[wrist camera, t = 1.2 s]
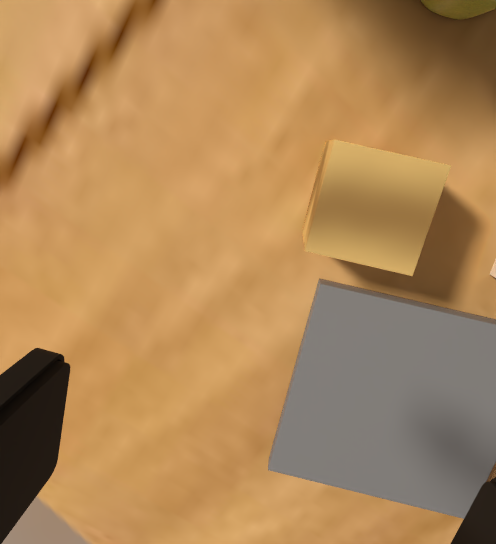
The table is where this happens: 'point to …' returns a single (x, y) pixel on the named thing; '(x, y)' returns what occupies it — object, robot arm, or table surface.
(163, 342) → the table surface
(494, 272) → the cream block
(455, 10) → the plant pot
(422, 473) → the plate
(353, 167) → the mustard block
